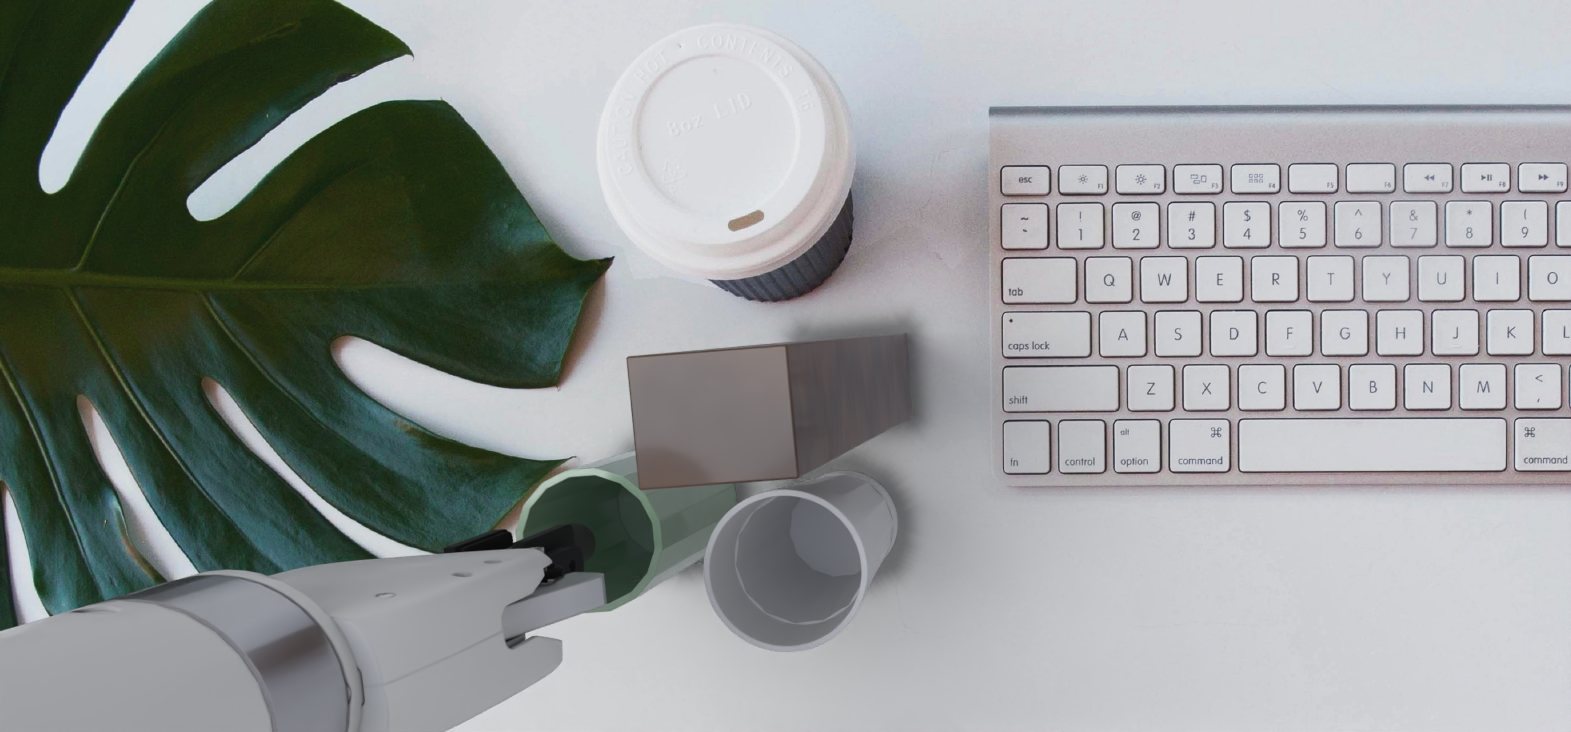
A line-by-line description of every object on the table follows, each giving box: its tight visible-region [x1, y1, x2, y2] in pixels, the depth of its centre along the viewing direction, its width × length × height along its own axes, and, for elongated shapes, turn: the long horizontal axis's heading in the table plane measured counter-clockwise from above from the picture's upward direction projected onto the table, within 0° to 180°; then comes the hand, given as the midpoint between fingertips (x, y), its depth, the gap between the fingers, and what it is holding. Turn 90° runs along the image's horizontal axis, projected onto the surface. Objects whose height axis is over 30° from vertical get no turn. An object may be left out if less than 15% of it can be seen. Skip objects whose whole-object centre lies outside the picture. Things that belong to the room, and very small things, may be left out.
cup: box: [703, 470, 899, 653], centre depth 58 cm, size 8×8×12 cm
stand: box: [625, 332, 914, 490], centre depth 52 cm, size 5×6×24 cm
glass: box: [515, 449, 738, 614], centre depth 59 cm, size 7×7×11 cm
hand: (537, 561), depth 48 cm, fingers closed
